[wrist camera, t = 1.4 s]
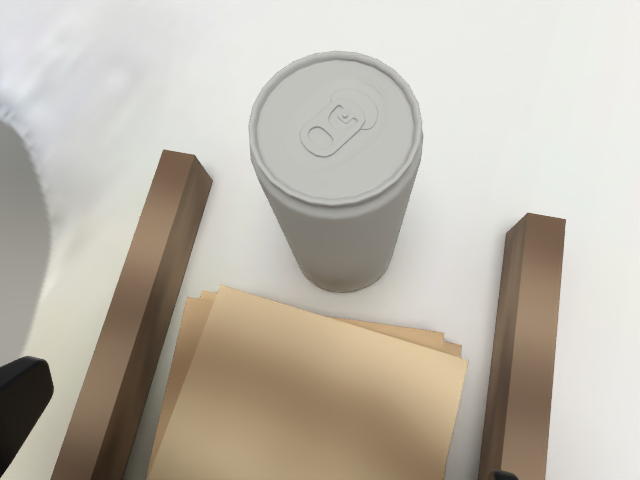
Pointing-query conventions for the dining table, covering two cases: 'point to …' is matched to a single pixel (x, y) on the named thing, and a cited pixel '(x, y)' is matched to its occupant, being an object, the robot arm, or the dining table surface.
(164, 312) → the offcut rack
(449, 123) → the dining table surface
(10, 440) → the robot arm
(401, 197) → the beverage can
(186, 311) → the offcut stack
